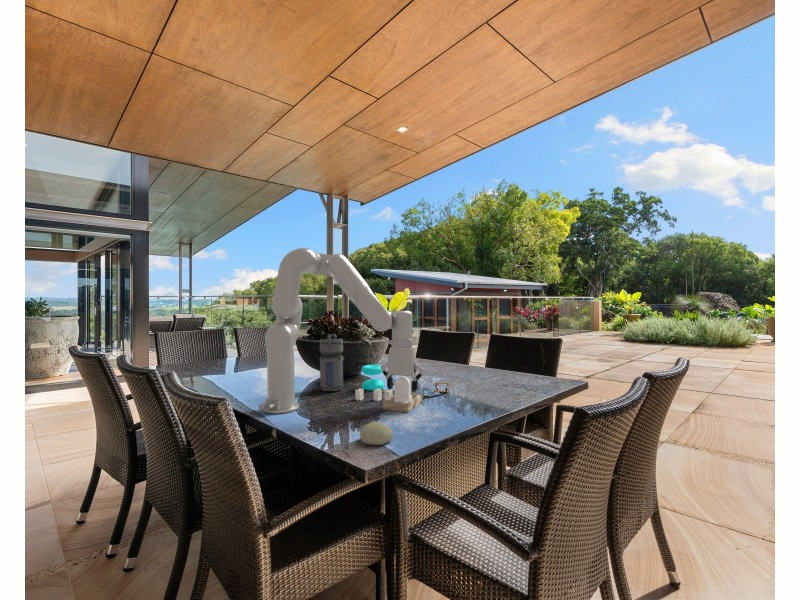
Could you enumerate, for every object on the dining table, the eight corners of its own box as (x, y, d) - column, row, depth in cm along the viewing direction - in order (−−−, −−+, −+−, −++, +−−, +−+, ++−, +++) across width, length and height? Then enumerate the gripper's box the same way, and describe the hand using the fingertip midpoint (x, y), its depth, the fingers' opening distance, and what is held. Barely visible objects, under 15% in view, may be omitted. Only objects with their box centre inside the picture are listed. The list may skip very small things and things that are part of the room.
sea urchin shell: (382, 426, 120) (390, 411, 115) (390, 451, 116) (400, 437, 111) (353, 431, 116) (360, 416, 111) (361, 457, 111) (369, 443, 106)
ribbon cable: (450, 401, 156) (449, 384, 186) (450, 399, 156) (449, 382, 186) (376, 401, 159) (386, 384, 189) (376, 399, 159) (386, 382, 189)
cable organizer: (412, 401, 154) (412, 375, 154) (407, 408, 144) (406, 380, 144) (398, 400, 155) (398, 374, 155) (392, 407, 145) (392, 379, 145)
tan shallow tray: (407, 412, 141) (407, 403, 141) (383, 409, 145) (382, 401, 145) (422, 402, 154) (422, 394, 154) (399, 400, 158) (399, 392, 158)
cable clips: (387, 403, 154) (387, 392, 154) (355, 400, 159) (355, 389, 159) (393, 400, 158) (393, 390, 158) (361, 397, 164) (361, 387, 164)
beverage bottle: (346, 386, 185) (345, 331, 185) (341, 392, 172) (340, 334, 172) (324, 386, 185) (323, 331, 185) (317, 393, 172) (316, 334, 172)
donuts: (360, 364, 184) (382, 363, 185) (361, 386, 184) (383, 385, 185) (361, 368, 174) (384, 367, 175) (362, 391, 174) (385, 390, 176)
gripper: (376, 344, 150) (376, 390, 150) (420, 346, 143) (420, 394, 143) (385, 342, 156) (385, 386, 156) (427, 343, 150) (427, 390, 150)
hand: (402, 390), depth 150 cm, fingers open, 9 cm apart
